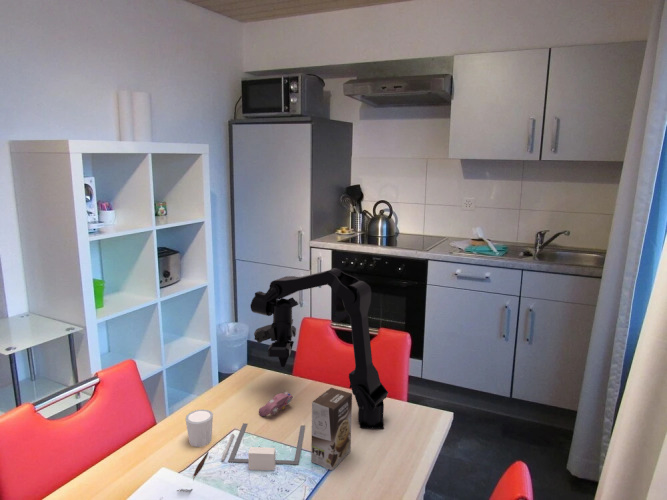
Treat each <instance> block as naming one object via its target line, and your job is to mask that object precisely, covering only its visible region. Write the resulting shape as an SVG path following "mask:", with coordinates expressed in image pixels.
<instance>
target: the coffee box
mask: <svg viewBox="0 0 667 500" xmlns="http://www.w3.org/2000/svg"><path fill="white" fill-rule="evenodd" d="M352 409H353V393H351V392H348V391H346V390H345V391H344V390H341V389H338V388H333V387H330V388H329V389H328V390H326V391H324V392H323V393H322V394H320V395H319V396H318V397H317V398H315V399H314V400H312V402H311V444H310V445H311V455H310V457H311V458H310V459H311V460H310V461H311V463H314V464H315V465H318V466H319V467H323V468H325V469H327V470H329V471H333V470H334V469H335V468H336V467H337V466H338V465H340V463H341V462H342V461H343V459H345V458H346V457H347V456H348V455H349V454H350V453H351V451H352V449H351V448H352V447H351V445H352V415H353V414H352V411H353V410H352Z"/></svg>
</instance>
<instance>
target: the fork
mask: <svg viewBox="0 0 667 500" xmlns="http://www.w3.org/2000/svg"><path fill="white" fill-rule="evenodd" d="M208 455H209V451H208V452H206V454H205V455H204V456H203V458H202V459H201V460H200V462H199V463H198V464H197V466H196V468H195V470H194V473H193V475H192V478H193V480H195V479H196V476H198V474H199V472H200V471H201V470H202V468H203V467H204V464H205V462H206V459H207V458H208ZM192 478H191V479H192ZM179 490H180V489H176V492H185V493H187V492H188V493H189V491H188V490H187V491H185V490H184V491H182V490H180V491H179Z"/></svg>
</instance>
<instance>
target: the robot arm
mask: <svg viewBox="0 0 667 500" xmlns="http://www.w3.org/2000/svg"><path fill="white" fill-rule="evenodd" d="M323 286H328V287H329V288H331V290H332V291H333V293H334V295H336V296H337V297H338V298H339V299H341V300H342V303H343V307H344V309H345V311H346V313H347V315H349V317H350V318H349V319H350V327H351V337H352V345H353V354H354V355H353V356H354V365H355V368H354V369H353V370H352V371H351V372H349V374H348V379H349V389H351V392H352V396H353V395H354V398H355V401H356V405H357V407H358V409H357V410H358V411H357V412H358V413H357V414H358V415H357V417H358V418H357V419H358V421H357V422H358V423H359V428H360V429H375V430H381V429H382V430H383V429H385V426H384V425H385V424H384V411H385V410H384V408H385V407H384V406H385V403H384V400H386V398H387V397H388V394H389V391H388V390H387V389H386V387H385V386H384V384H383V383H382V382H381V379H380V376H379V375H380V374H379V372H378V369H377V368H376V367H375V365H374V364H373V355H372V346H371V345H372V344H371V336H370V327H369V326H370V325H369V316H368V315H369V310H370V307H371V303H372V288H371V286H370V285H369V284H368V283H367V282H365V281H363V280H360V279H358V278H357V277H355V276H353V275H352V274H349V273H345V272H344V271H343V270H342V269H340V268H337V267H333V268H330V269H328V270H325V271H321V272H316V273H312V274H308V275H304V276H295V275H294V276H293V275H292V276H289V275H288V276H283V277H280V278H278V279H274V280H272V281H271V282H270V284H269V288H268V290H267V291H266V292H263V291H260V290H259V291H256V292H254V296H253V298H252V300H251V303H250V310H251V312H252V313H254V314H258V315H263V316H268V317H270V316H272V323H271V324H268V325H263V326H261V327H259V328H256V329H255V331H254V333H253V335H254V341H256V342H257V343H258V344H260V343H261V344H262V342H265V341H268V340H270V341H271V342H272V343H271V344H270V345H269V346H268V349H267V357H269V358H270V357H272V358H274V357H275V358H278V360H279V364H280V367H281V368H285V367H286V364H287V363H288V360H289V358H290V356H291V352H292V351H293V346H294V343H295V341H293V340H292V339H293V337H294V338H295V337H296V335H297V327H296V326H294V325H293V323H294V319H293V308H294V307H296V306H298V305H299V303H298V301H297V300H295V299H294V297H290V298H288V299H287V298H286V297H288V296H291V295H294V294H295V293H297V292H300V291H303V290H309V289H313V288H318V287H323Z"/></svg>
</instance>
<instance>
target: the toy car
mask: <svg viewBox="0 0 667 500" xmlns="http://www.w3.org/2000/svg"><path fill="white" fill-rule="evenodd" d="M293 399H294V396H293V395H292V394H291V393H290V392H288V391H284V392H282V393H277V394H276V395H274V397H273V398H271V399H270V400H269V401H267V402H266V404H265V405H263V406H261V407H260V408H259V409H258V414H259V416H261V417H267V416H268V415H270V414H271V415H272V416H274V415H276V414H277V413H278V412H279V411H283V410H284V409H285V408H286V407H287V405H289V404H290V402H292V401H293Z"/></svg>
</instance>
